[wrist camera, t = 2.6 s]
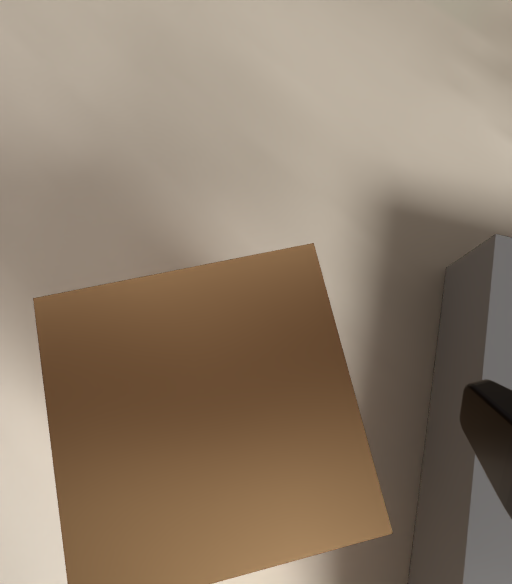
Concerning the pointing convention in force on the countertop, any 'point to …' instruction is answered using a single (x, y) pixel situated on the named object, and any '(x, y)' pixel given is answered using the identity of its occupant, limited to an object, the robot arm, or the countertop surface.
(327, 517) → the oak block
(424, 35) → the countertop surface
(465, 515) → the collar
